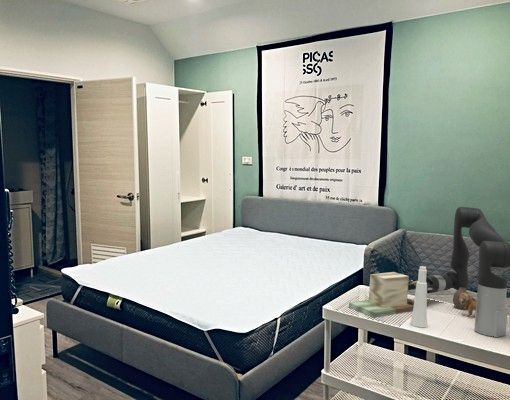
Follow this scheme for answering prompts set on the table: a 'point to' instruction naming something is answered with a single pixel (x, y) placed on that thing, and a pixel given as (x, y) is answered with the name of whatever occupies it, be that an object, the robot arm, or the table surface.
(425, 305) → the cosmetic bottle
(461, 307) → the vase
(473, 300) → the lion figurine
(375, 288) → the maple block
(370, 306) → the trap box
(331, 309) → the table surface
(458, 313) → the table surface
